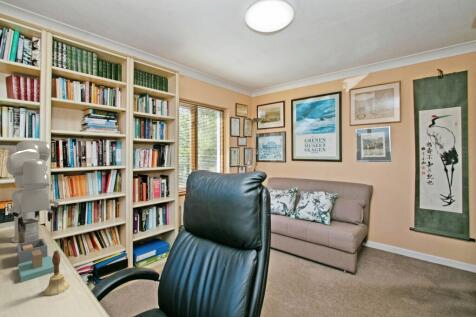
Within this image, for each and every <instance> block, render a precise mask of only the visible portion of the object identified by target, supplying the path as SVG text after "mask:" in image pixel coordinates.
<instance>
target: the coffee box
mask: <svg viewBox="0 0 476 317" xmlns="http://www.w3.org/2000/svg"><path fill="white" fill-rule="evenodd" d="M39 229H40V224H39V220H38V219H36V218H35V219H32V218H31V219H25V220H23V226H22V227H21V226H20V225H18V238H19V242H18V244H19V243H24V242H28V241H33V240H37V239H40V230H39Z"/></svg>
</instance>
